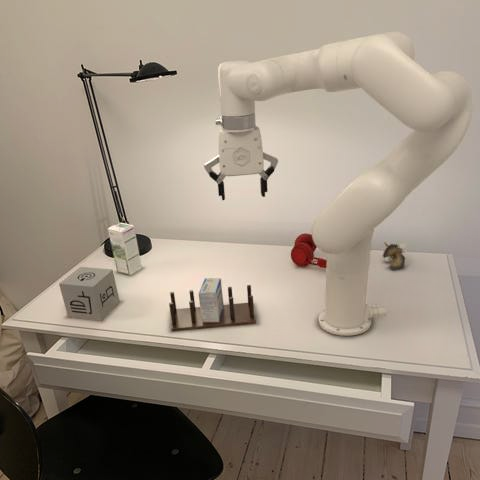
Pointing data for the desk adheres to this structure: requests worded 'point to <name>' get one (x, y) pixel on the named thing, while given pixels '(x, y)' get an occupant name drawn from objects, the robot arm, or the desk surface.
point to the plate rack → (229, 317)
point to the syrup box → (125, 248)
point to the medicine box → (211, 300)
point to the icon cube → (89, 293)
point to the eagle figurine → (395, 255)
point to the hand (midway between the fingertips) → (243, 196)
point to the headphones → (306, 252)
